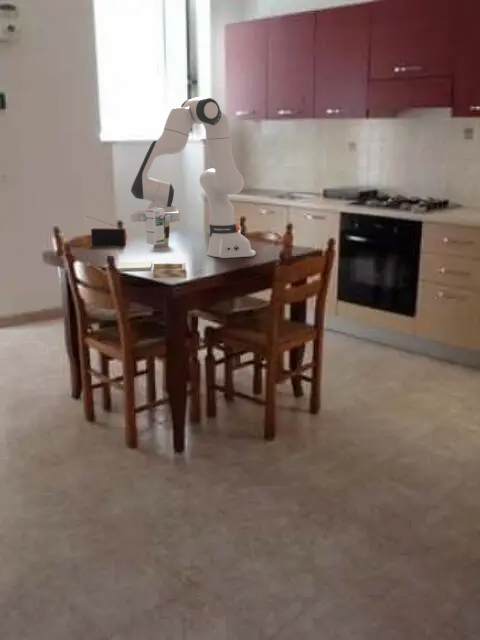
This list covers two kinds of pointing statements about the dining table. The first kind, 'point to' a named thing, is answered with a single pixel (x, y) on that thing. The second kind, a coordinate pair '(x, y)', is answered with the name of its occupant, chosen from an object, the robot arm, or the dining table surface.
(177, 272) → the birch holder
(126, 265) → the sage mat
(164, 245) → the coffee cup
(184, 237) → the dining table surface
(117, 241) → the radio
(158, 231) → the syrup box
